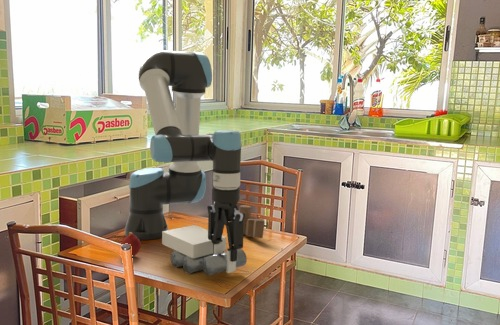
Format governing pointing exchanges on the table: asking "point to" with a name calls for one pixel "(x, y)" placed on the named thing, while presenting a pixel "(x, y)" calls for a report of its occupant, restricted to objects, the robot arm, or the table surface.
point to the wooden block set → (251, 223)
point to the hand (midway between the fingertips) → (224, 268)
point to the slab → (190, 241)
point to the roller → (221, 262)
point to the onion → (132, 243)
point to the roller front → (193, 263)
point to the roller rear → (177, 258)
